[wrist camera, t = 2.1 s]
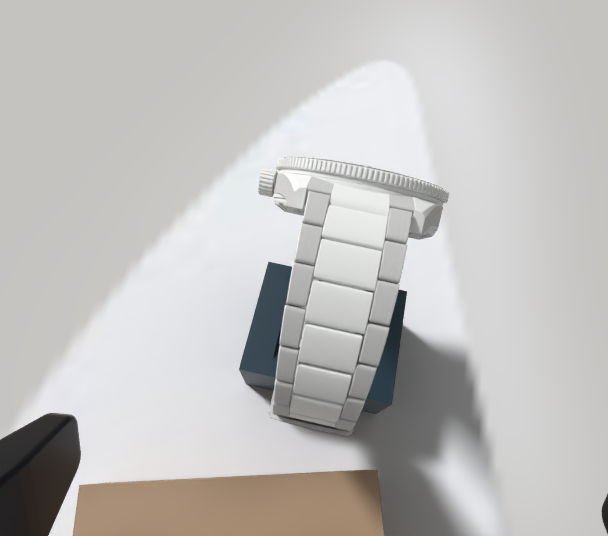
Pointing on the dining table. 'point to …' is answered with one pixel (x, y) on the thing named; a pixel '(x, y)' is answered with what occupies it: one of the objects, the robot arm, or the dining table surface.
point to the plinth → (235, 506)
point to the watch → (336, 290)
